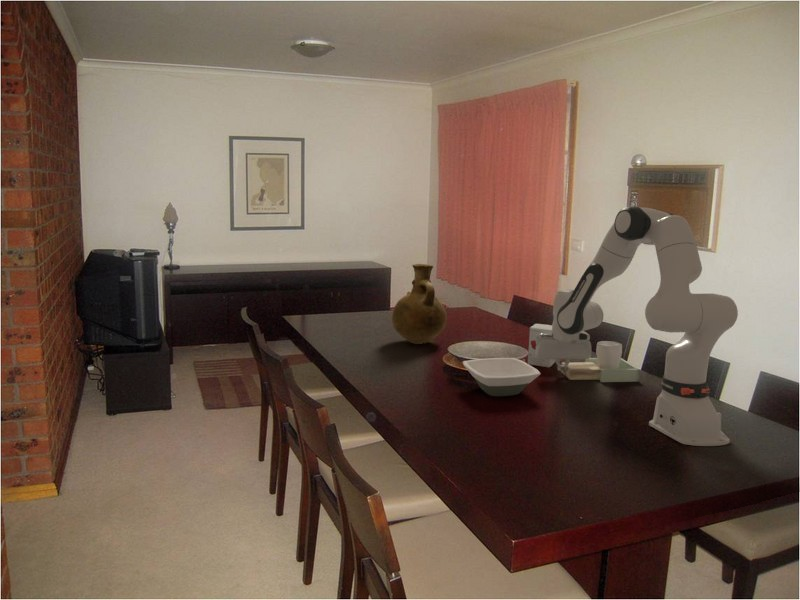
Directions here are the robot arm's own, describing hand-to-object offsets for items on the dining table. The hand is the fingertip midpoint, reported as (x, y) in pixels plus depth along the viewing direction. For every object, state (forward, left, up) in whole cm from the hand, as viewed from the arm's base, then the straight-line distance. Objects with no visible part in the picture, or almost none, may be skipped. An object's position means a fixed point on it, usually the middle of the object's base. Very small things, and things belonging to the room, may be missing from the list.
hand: (562, 370), depth 231 cm
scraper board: (0, -8, -3) cm, 8 cm away
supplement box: (+17, +2, -2) cm, 17 cm away
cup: (0, -17, -2) cm, 18 cm away
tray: (0, -19, -2) cm, 19 cm away
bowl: (-16, +27, -2) cm, 32 cm away
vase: (+51, +47, -2) cm, 70 cm away
